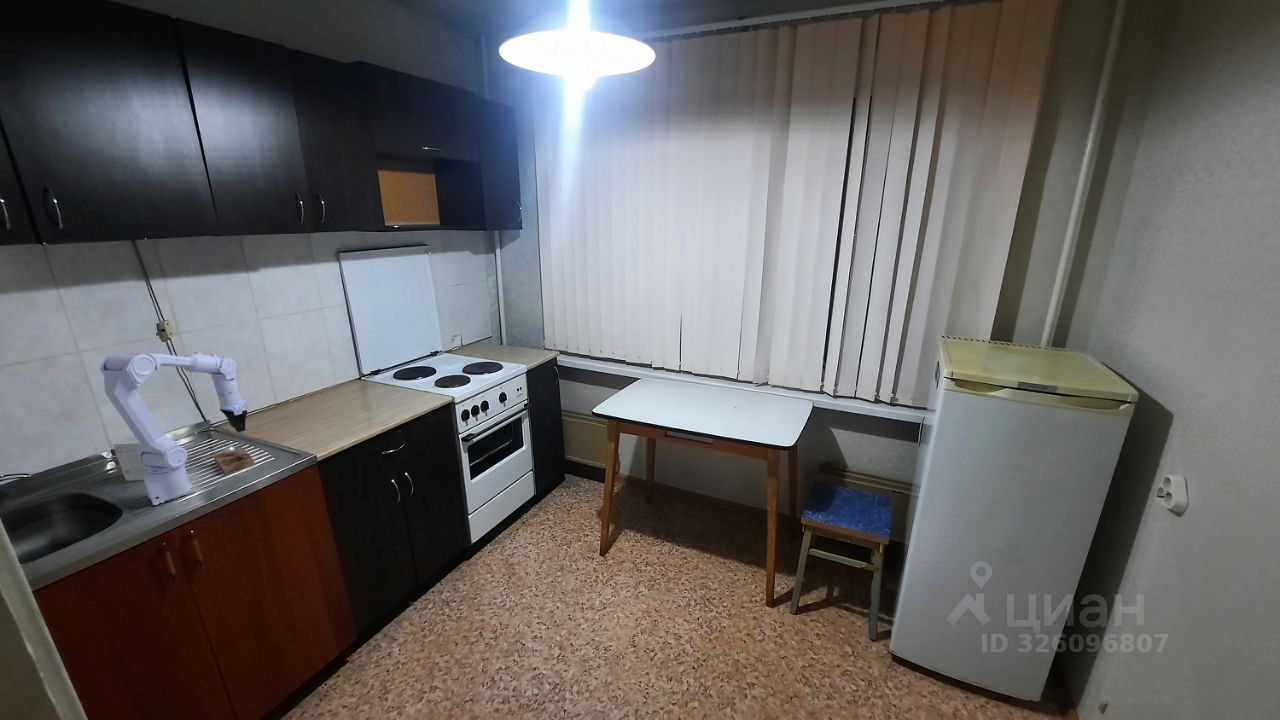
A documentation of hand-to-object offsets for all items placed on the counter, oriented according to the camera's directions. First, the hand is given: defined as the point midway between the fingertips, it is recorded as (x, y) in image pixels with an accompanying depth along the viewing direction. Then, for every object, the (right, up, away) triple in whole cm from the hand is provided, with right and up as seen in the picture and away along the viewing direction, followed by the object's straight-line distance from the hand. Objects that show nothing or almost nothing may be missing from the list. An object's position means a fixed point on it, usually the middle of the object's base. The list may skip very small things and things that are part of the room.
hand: (238, 428), depth 168 cm
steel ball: (-2, -7, -1) cm, 7 cm away
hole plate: (0, -11, -2) cm, 12 cm away
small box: (-23, -14, -8) cm, 28 cm away
